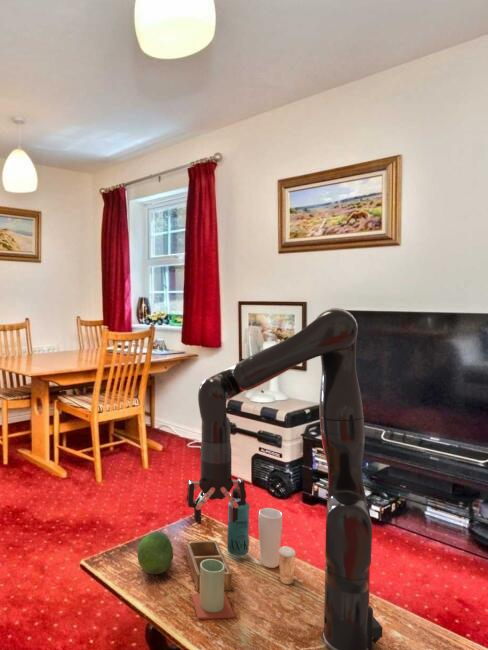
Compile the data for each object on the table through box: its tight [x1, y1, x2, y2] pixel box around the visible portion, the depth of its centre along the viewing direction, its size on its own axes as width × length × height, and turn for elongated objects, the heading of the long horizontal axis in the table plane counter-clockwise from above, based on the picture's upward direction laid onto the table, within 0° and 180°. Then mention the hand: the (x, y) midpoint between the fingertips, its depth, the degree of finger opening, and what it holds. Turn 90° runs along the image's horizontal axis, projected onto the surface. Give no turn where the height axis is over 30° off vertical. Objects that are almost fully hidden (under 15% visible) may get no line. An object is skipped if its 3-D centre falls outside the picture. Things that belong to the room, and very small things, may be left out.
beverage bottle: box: [226, 487, 250, 557], centre depth 146 cm, size 6×7×20 cm
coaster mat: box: [190, 592, 236, 620], centre depth 123 cm, size 9×9×1 cm
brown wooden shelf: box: [185, 540, 232, 593], centre depth 138 cm, size 9×17×4 cm, turn 5°
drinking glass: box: [257, 507, 284, 569], centre depth 142 cm, size 7×7×15 cm
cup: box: [199, 559, 225, 612], centre depth 122 cm, size 6×6×10 cm
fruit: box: [137, 531, 174, 575], centre depth 140 cm, size 15×10×10 cm, turn 164°
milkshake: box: [279, 545, 298, 585], centre depth 133 cm, size 4×5×10 cm
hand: (216, 522), depth 121 cm, fingers open, 8 cm apart
